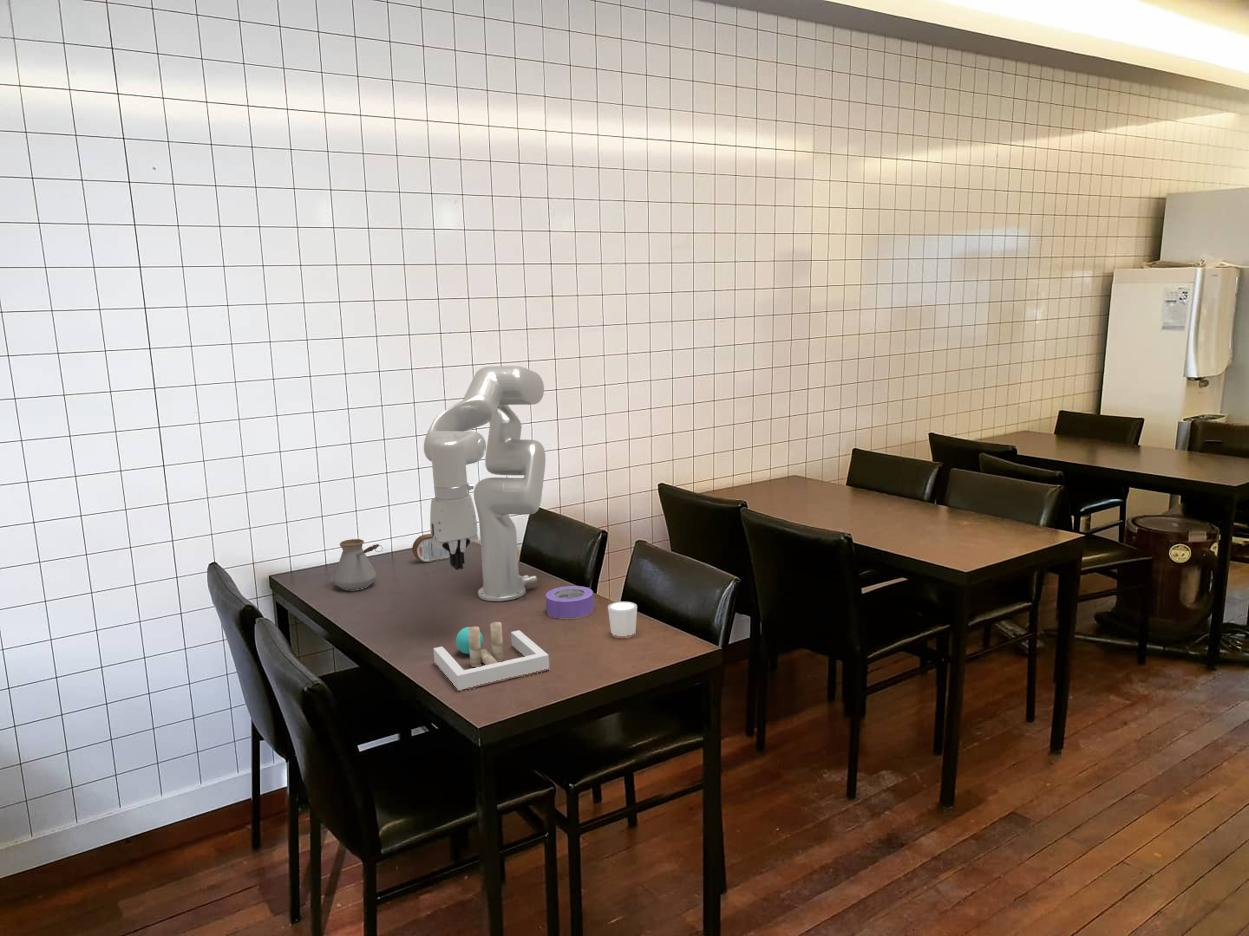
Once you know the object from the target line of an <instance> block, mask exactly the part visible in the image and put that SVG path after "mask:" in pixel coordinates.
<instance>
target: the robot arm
mask: <svg viewBox="0 0 1249 936" xmlns="http://www.w3.org/2000/svg"><path fill="white" fill-rule="evenodd" d="M467 388H468V389H467V391H466V393H465V395H464V397H463V399H462V400H461V401H459V402H457V403H456V404H454V405H452V406H450V407H449V408H447V409H446V410H443V411H442V412H441V413H439V414H438V415H437V416H436V417H435V418H434V419H433V421H432V423H431V424H430V426H429V428H428V430H427V433H426V436H425V438H424V441H423V454H424V457H426V459H427V460H428V461H430V462H431V466H432V467H431V468H432V477H433V489H434V491H433V492H434V498H432V499H431V501H430V509H429V510H430V514H429V516H430V517H429V518H430V519H429V521H430V523H429V524H430V525H429V527H430V530H429V531H430V534H431V537H432V538H433V543H432V545H433V546H434V547H435V548H444V549H446V550H447V551H449V556H450V559H449V564H450V566H451V567H452V568H453V569H454V570H456V571H458V570H464V564H465V554H464V553H465V552H466V550H467V547H468V546H469V545H470V543H474V542H475V541H478V540H479V537H480V551H481V552H480V553H481V565H482V566H481V567H482V571H481V572H482V584H483V585H482V587H480V588H479V589H478V590H477V596H478V597H479V598H480V599H481V600H484V601H487V602H505V601H506V602H507V601H513V600H515V599H516V600H517V599H519V598H521V597H523V596H524V595H525V594H526V587H525V586H526V585H529V584H535V583H537V582H538V581H537V579H538V578H537V575H531V576H529V575H528V574H525V575H520V572H519V556H518V537H517V528H516V525H515V523H514V522H513V520H512V518H511V517H510V516H509V515H525V516H526V515H533V514H536V513H537V512H538V511H539V509H540V507H541V503H542V497H543V489H544V479H545V471H546V451H545V448H544V446H543V444H542V443H541V442H540V441H539V440H536V439H521V436H522V422H521V420H520V418H519V417H518V415H516V413H515V412H514V411H513V410H512V409H511V408H510V405H512V406H515V405H517V406H518V405H519V406H521V405H522V406H523V405H527V406H530V405H538V404H539V403H540V402H541V401H542V400H543V397H544V395H545V384H544V381H543V378H542V377H541V375H539V374H538V372H536V371H534V370H531V369H529V368H526V367H523V366H519V365H503V366H502V365H497V366H495V365H493V366H492V365H491V366H484V367H481V368H480V369H478V370H477V371H476V372H475V374H474V376H473V378H472V380H471V382H470V384H469V386H468V387H467ZM488 423H489V429H488V437H487V441H486V440H485V437H484V436H483V435H482V434H481V433H480V432H477V431H473V429H477V428H478V427H481V426H484V425H486V424H488ZM470 430H472V431H470ZM484 456H485V457H484ZM483 457H484V458H485V459H484V460H485V461H484V462H485V463H484V464H485V465H484V466H485V468H486V470H487V472H488V473H490V474H492V475H497V476H524V477H497V476H496V477H486V478H484V479H481V480H479V481H478V482H477V483H476V484H475V486H474V483H469V482H468V476H467V474H468V473H467V466H468V465H471V464H472V465H473V464H475V463H478V462H479V461H480V460H482V459H483ZM471 490H473V498H472V495H471V494H470V491H471ZM473 500H474V502H473ZM474 505H475V506H474ZM475 508H476V510H475ZM476 513H477V516H476ZM477 517H478V519H477ZM478 525H479V526H478ZM478 527H479V535H480V536H478ZM453 541H457V548H456V550H455V546H454V542H453Z"/></svg>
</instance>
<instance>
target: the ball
mask: <svg viewBox="0 0 1249 936" xmlns="http://www.w3.org/2000/svg"><path fill="white" fill-rule="evenodd" d="M469 627H470V626H466V627H464V628H461V630H459V632H458V633H457V634H456V637H455V645H456V648H457V649H458V651H460V652H461V653H463V654H466V655H470V650H469V636H468V628H469ZM483 643H484V637H483V634H482V632H481V631H480V646H481V647H483Z"/></svg>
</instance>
